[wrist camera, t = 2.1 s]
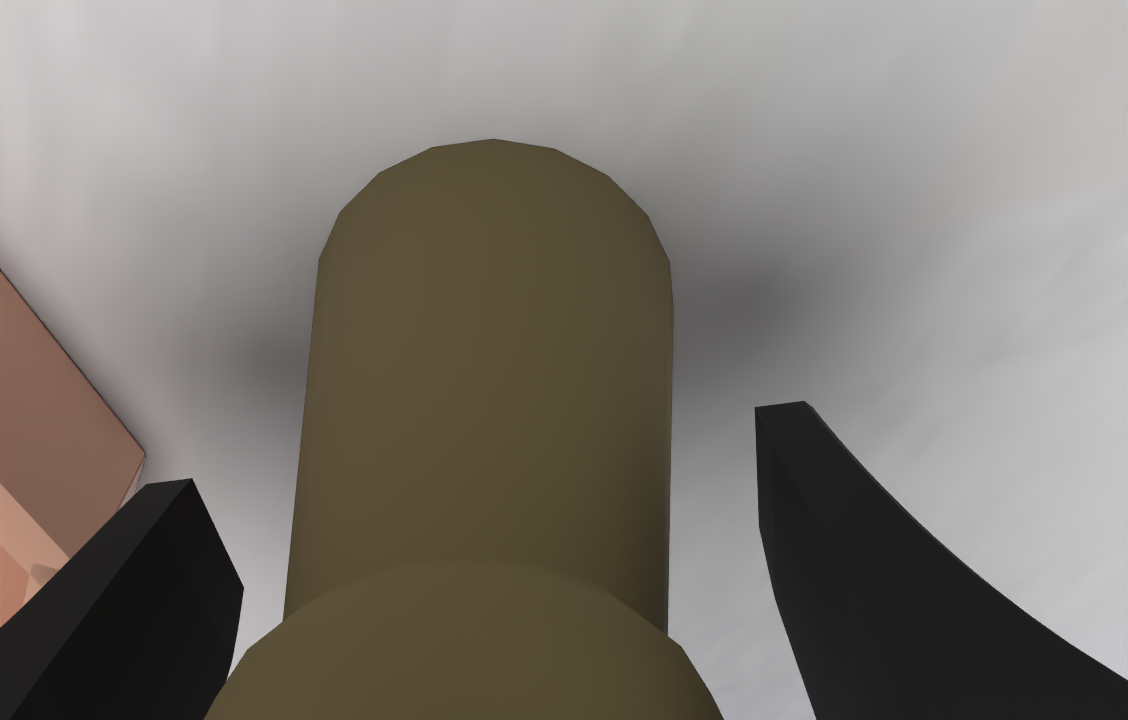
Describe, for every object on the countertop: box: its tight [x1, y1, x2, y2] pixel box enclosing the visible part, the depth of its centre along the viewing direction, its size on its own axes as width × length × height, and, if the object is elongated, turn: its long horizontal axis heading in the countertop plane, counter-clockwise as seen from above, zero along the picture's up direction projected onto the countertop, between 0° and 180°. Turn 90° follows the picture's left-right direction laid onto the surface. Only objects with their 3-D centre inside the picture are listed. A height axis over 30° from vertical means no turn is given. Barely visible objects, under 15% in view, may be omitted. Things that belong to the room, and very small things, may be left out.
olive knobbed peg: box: [204, 139, 724, 720], centre depth 12 cm, size 6×6×11 cm
